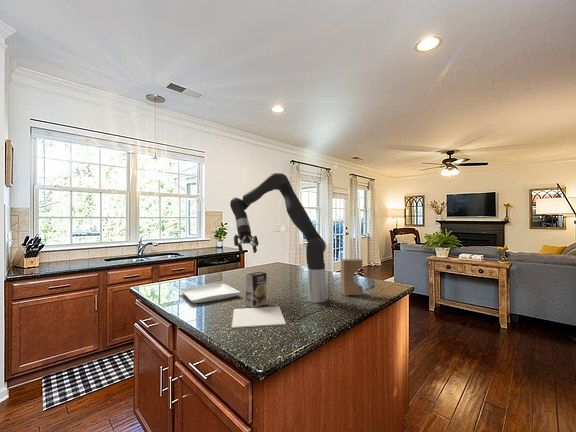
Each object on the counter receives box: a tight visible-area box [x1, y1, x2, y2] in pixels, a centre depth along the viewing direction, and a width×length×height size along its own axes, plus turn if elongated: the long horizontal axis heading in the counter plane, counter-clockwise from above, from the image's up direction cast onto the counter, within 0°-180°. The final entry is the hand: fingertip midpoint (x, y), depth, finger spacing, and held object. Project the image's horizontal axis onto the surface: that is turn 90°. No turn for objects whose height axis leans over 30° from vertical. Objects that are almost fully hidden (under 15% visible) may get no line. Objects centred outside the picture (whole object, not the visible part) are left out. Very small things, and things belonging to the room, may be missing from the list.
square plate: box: [178, 283, 241, 304], centre depth 157 cm, size 27×27×4 cm
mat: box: [231, 306, 287, 329], centre depth 124 cm, size 22×22×1 cm
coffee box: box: [245, 271, 268, 308], centre depth 141 cm, size 9×6×16 cm
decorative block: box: [340, 258, 364, 297], centre depth 159 cm, size 11×6×20 cm, turn 99°
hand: (248, 252), depth 155 cm, fingers open, 8 cm apart
